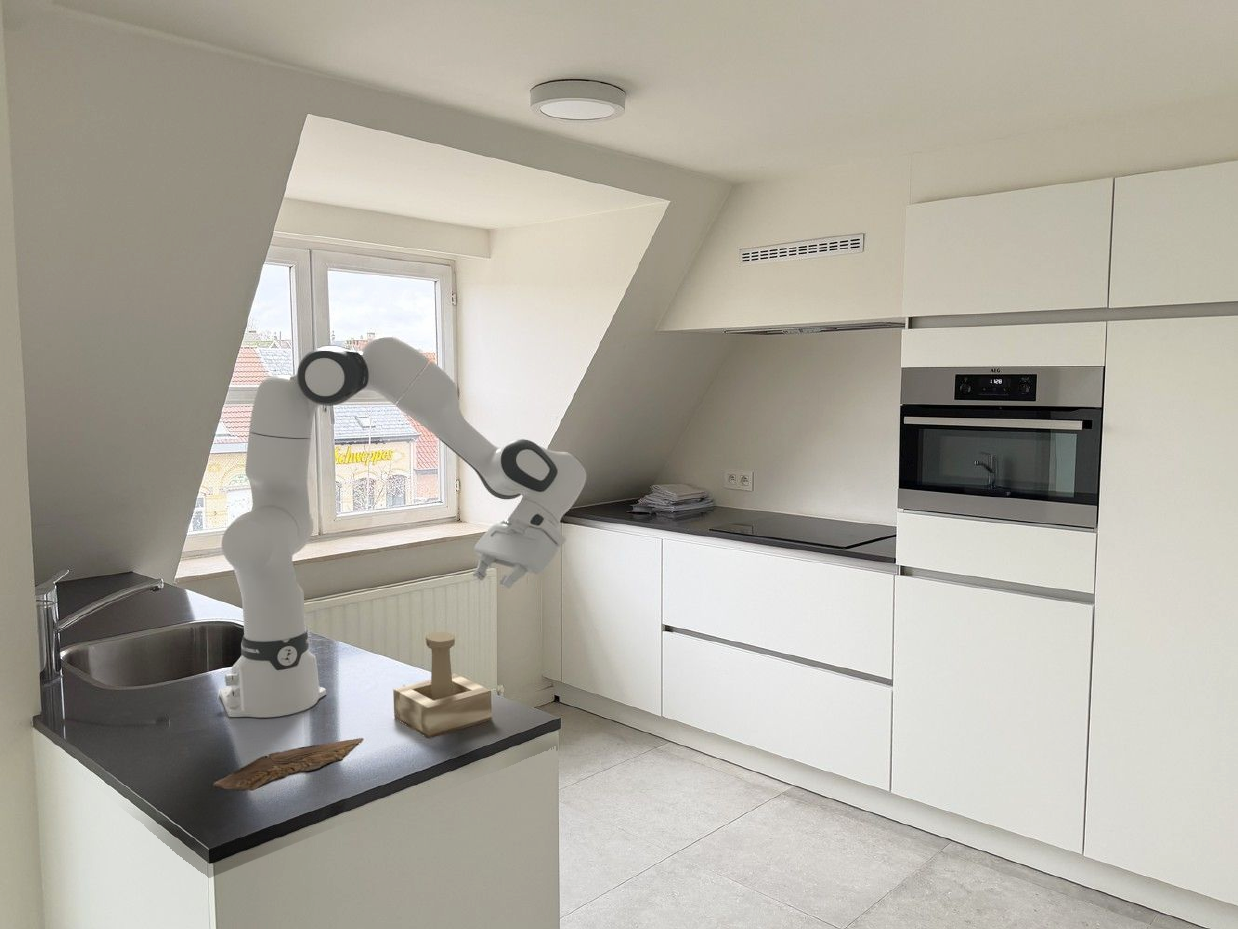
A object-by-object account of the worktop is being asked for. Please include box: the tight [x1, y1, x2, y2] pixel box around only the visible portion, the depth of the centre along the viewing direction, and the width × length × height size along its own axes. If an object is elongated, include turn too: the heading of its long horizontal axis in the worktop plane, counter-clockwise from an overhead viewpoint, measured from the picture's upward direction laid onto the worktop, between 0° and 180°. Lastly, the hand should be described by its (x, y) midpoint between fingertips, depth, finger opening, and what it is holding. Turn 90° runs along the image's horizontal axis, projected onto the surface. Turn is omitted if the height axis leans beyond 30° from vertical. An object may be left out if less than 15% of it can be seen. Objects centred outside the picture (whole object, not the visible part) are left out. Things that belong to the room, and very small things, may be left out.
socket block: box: [392, 673, 493, 739], centre depth 171 cm, size 13×13×6 cm
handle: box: [425, 631, 456, 701], centre depth 170 cm, size 5×6×15 cm
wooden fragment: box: [213, 737, 364, 791], centre depth 153 cm, size 26×11×1 cm, turn 132°
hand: (490, 582), depth 176 cm, fingers open, 8 cm apart
